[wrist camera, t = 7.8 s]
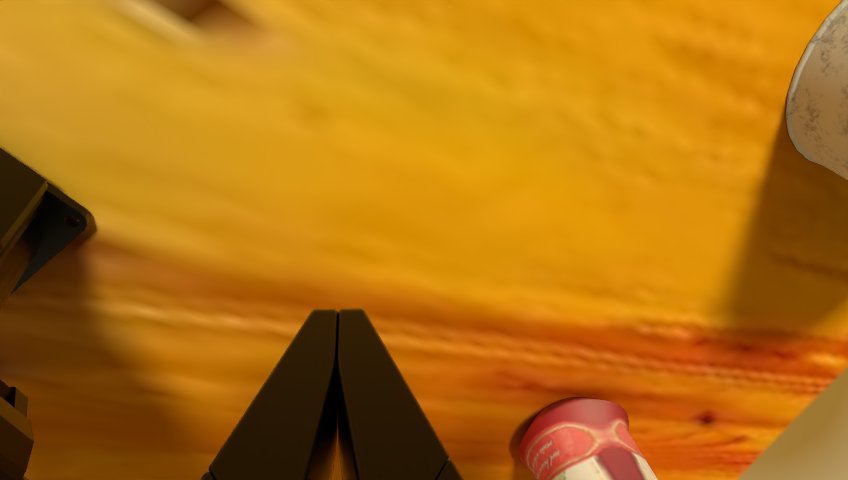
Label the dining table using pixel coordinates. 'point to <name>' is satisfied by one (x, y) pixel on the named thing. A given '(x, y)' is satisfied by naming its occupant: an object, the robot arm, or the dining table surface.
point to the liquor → (582, 443)
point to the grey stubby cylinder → (822, 96)
